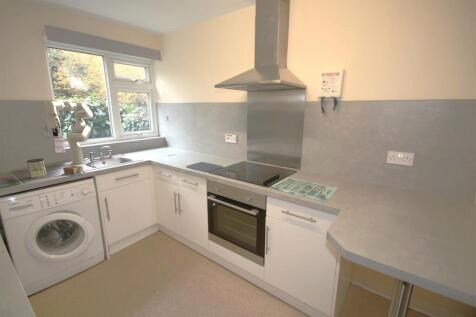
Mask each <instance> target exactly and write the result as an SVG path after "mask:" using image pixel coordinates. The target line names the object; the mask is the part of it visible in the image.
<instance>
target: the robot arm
mask: <svg viewBox="0 0 476 317" xmlns="http://www.w3.org/2000/svg"><path fill="white" fill-rule="evenodd" d="M43 105H44V110H45V115H46V116H45V117H46V124H47V128H48V129H49V130H50V131H51V132H52V135H53V137H59V130H60V129H61V128H62V125H61V121H60V118H59V117H58V111H62V112H74V113H73V114H74V117H75V118H74V119H75V124H74V126H73V128H72V132H70V133H68V134H67V135H66V140H67V143H68V147H69V150H70V156H71V157H70V158H71V163H70V166H79V165H83V164H84V165H85V164H86V163H87V162H86V161H88V160H89V158H88V157H86V158H84V154H83V150H82V146H81V143H85V142H87V141H88V139H89V137H90V135H91V133H92V129H91V127H90V126H89V125H87V123H86V122H85V121H84V120H87V119H88V120H90V119H92V118H93V116H94V115H93V112H92V111H91V109H90V108H89V106H87V105H86V104H85V103H84V102H72V101H71V102H70V101H60V100H59V101H58V100H57V101H55V100H45V101H44V102H43Z"/></svg>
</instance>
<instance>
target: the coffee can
mask: <svg viewBox="0 0 476 317" xmlns="http://www.w3.org/2000/svg"><path fill="white" fill-rule="evenodd" d="M26 163H27V166H28V167H27V168H28V171H29V176H30V179H38V178H43V177H46V176H48V174H47V169H46V165H45V159H44V158H33V159H28V160H26Z"/></svg>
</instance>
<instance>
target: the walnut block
mask: <svg viewBox="0 0 476 317" xmlns="http://www.w3.org/2000/svg"><path fill="white" fill-rule="evenodd" d="M62 170H63V174H77V173H81V172H84V171H85V170H84V166H83V165H70V166H64V167H62Z"/></svg>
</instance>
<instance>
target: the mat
mask: <svg viewBox="0 0 476 317" xmlns="http://www.w3.org/2000/svg"><path fill="white" fill-rule="evenodd" d="M82 174H85V172H83V173H77V174H64V173H63V174H61V176H69V175H70V176H71V177H72V176H73V177H74V176H78V175H82ZM70 176H69V177H70Z"/></svg>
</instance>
